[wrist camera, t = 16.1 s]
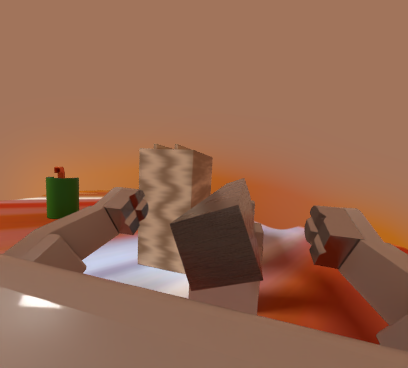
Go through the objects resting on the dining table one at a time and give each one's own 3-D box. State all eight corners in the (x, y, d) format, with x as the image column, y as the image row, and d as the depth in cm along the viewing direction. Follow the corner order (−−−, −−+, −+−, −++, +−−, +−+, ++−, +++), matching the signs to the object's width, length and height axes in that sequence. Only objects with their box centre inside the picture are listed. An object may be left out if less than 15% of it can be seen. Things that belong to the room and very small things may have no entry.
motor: (80, 211, 75) (79, 167, 73) (76, 217, 67) (75, 167, 65) (51, 213, 70) (49, 166, 69) (42, 220, 63) (40, 166, 61)
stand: (137, 263, 38) (139, 143, 36) (173, 232, 58) (176, 153, 55) (187, 274, 35) (193, 144, 33) (207, 237, 55) (212, 154, 52)
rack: (175, 408, 16) (183, 225, 14) (210, 289, 31) (215, 196, 30) (252, 440, 14) (272, 237, 12) (248, 298, 30) (257, 200, 28)
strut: (191, 291, 8) (169, 223, 8) (232, 200, 33) (227, 183, 33) (263, 280, 7) (238, 204, 7) (249, 195, 32) (244, 178, 32)
